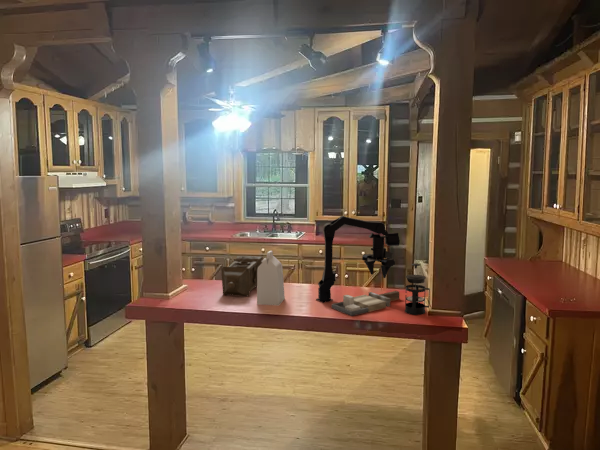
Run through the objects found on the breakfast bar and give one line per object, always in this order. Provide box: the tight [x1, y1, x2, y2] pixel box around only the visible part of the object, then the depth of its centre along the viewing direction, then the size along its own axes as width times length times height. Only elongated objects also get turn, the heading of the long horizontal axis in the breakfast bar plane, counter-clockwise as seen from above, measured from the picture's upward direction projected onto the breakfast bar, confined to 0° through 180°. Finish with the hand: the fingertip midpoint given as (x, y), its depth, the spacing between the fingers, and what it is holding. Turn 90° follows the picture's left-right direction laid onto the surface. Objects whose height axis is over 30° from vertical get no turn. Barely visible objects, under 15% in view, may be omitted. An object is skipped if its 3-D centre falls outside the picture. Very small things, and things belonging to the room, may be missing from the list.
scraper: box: [368, 290, 400, 308], centre depth 232 cm, size 14×14×4 cm
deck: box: [353, 294, 387, 313], centre depth 224 cm, size 15×11×3 cm
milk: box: [256, 250, 286, 306], centre depth 233 cm, size 12×12×26 cm
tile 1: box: [342, 294, 355, 306], centre depth 222 cm, size 5×5×2 cm
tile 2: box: [345, 304, 360, 311], centre depth 214 cm, size 5×5×2 cm
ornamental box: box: [220, 255, 264, 297], centre depth 252 cm, size 35×18×18 cm, turn 167°
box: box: [331, 301, 369, 317], centre depth 218 cm, size 15×10×2 cm
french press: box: [404, 263, 431, 316], centre depth 212 cm, size 12×9×23 cm
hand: (378, 276), depth 234 cm, fingers open, 9 cm apart
